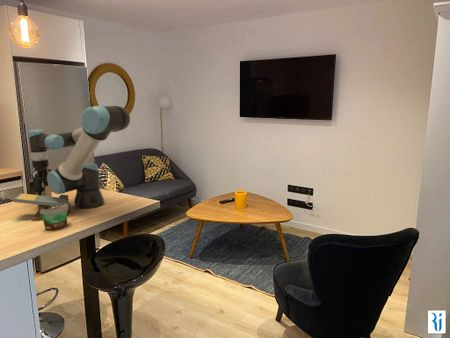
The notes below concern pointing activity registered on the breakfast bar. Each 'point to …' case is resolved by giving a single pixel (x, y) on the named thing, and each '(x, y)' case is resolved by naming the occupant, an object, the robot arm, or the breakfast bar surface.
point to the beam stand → (39, 216)
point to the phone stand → (31, 189)
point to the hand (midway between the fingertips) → (45, 202)
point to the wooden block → (46, 191)
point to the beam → (41, 199)
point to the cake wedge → (55, 217)
